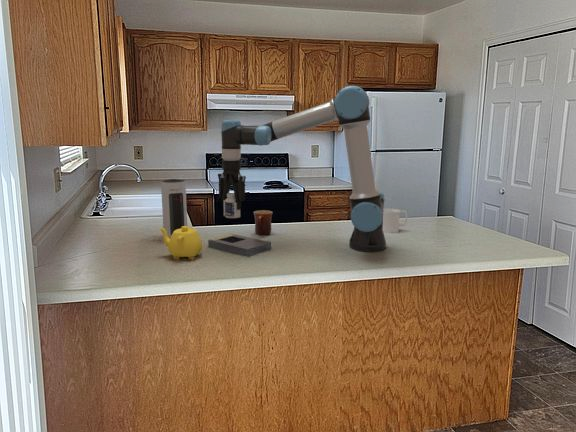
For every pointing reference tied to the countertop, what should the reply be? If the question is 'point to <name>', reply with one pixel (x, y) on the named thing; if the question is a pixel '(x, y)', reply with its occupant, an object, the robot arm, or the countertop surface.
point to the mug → (263, 222)
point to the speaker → (173, 205)
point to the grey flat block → (239, 245)
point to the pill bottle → (229, 205)
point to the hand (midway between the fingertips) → (232, 216)
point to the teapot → (183, 242)
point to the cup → (392, 220)
